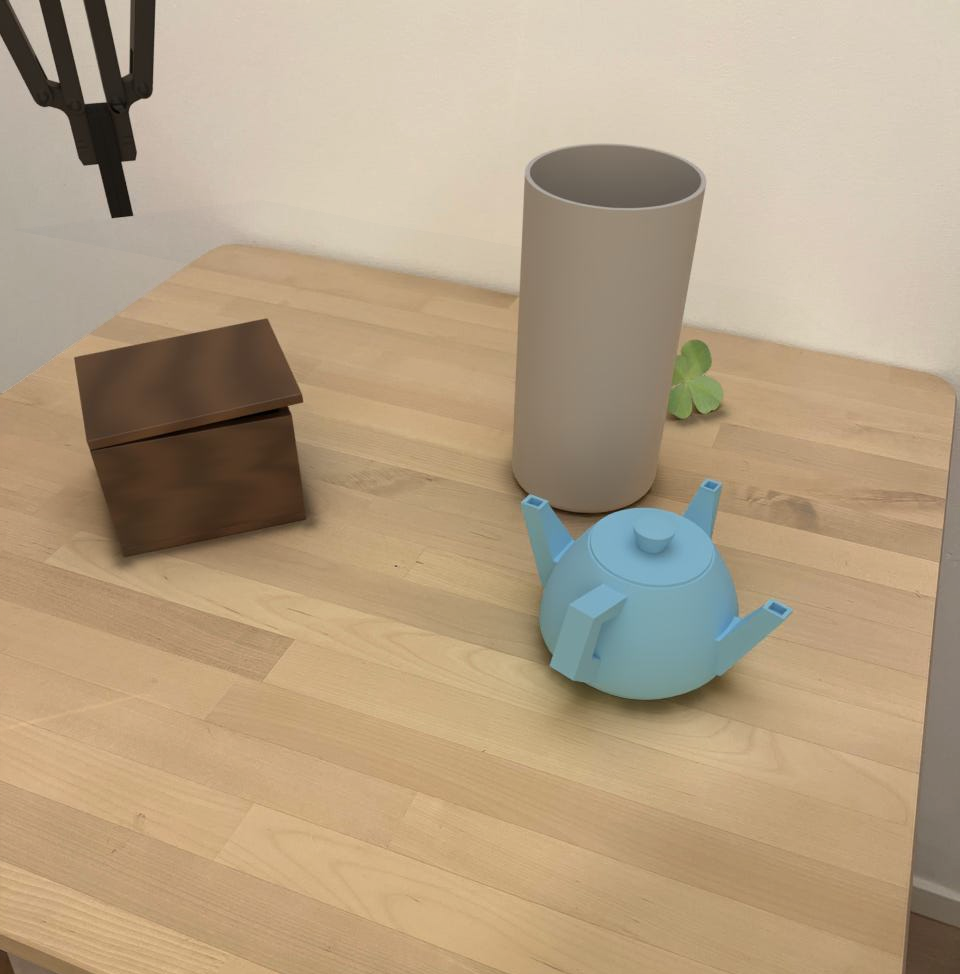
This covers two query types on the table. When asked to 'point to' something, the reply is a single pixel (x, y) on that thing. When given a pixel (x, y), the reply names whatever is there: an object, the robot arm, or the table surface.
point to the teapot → (642, 599)
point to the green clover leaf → (693, 381)
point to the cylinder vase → (600, 319)
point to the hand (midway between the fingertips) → (120, 209)
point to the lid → (183, 383)
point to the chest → (202, 481)
